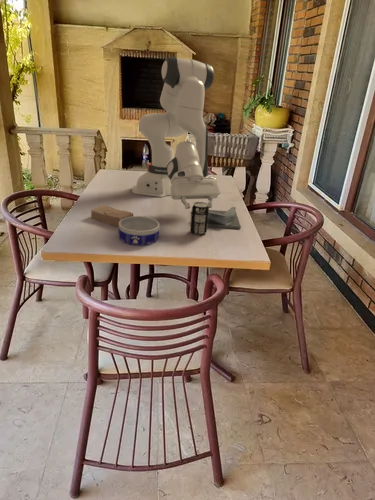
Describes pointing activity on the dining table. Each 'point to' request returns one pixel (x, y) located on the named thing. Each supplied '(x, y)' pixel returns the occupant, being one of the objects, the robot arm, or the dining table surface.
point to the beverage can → (199, 218)
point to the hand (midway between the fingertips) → (199, 207)
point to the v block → (223, 219)
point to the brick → (109, 215)
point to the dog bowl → (139, 230)
